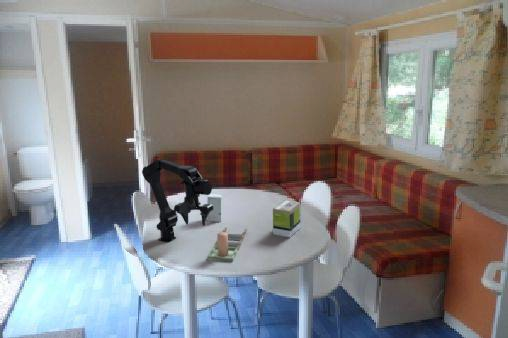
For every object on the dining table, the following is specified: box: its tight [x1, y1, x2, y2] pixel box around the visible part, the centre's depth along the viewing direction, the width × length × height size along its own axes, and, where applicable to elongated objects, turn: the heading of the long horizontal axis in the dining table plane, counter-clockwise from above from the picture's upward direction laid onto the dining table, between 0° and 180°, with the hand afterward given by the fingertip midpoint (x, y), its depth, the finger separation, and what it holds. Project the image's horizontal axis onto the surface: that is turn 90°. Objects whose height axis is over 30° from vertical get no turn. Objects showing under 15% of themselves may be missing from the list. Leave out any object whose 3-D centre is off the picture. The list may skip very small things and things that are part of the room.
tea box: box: [272, 199, 302, 238], centre depth 202 cm, size 15×10×15 cm, turn 152°
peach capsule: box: [216, 231, 229, 257], centre depth 176 cm, size 5×5×10 cm
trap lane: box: [207, 227, 248, 263], centre depth 189 cm, size 36×12×1 cm, turn 171°
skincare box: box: [206, 193, 224, 223], centre depth 219 cm, size 8×6×15 cm
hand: (195, 225), depth 183 cm, fingers open, 9 cm apart
